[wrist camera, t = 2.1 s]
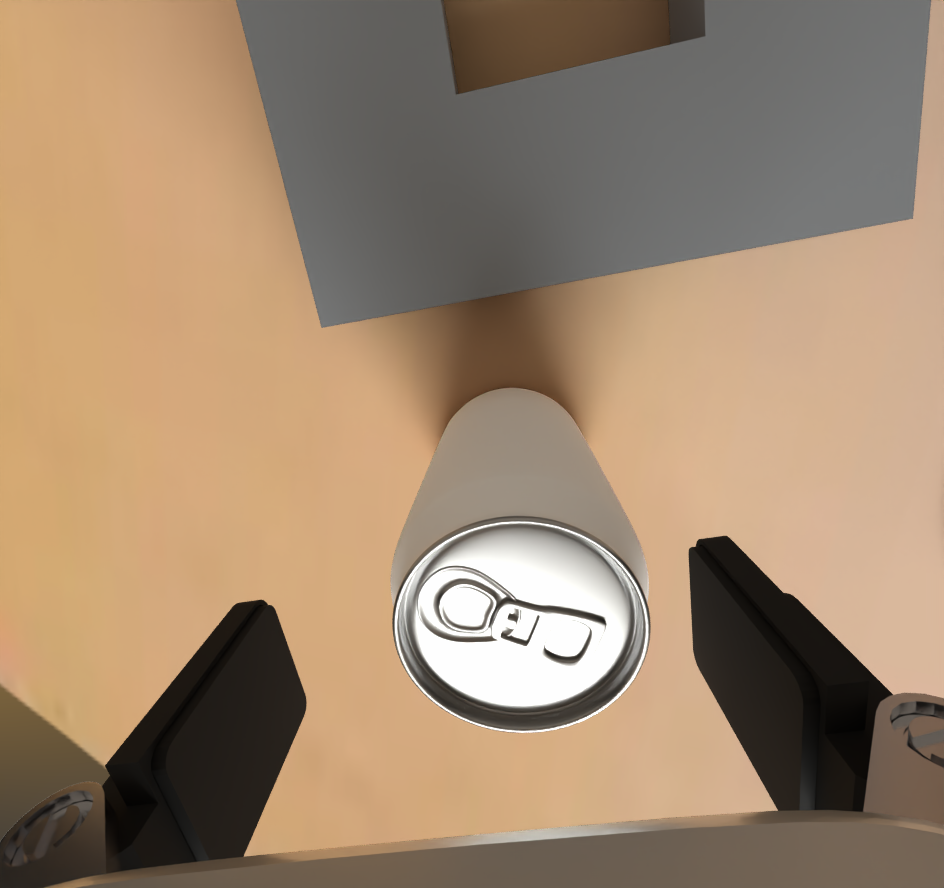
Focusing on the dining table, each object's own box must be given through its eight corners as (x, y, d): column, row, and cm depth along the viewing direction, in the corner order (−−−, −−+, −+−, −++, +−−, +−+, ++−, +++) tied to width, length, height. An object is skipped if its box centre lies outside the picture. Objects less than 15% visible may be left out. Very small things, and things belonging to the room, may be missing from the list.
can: (463, 365, 21) (415, 456, 9) (605, 411, 21) (726, 554, 10) (424, 496, 23) (344, 702, 11) (554, 536, 23) (603, 778, 12)
